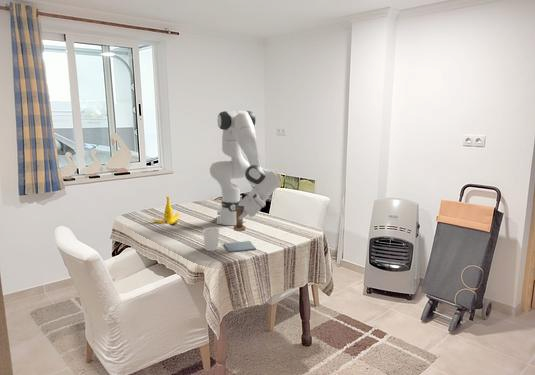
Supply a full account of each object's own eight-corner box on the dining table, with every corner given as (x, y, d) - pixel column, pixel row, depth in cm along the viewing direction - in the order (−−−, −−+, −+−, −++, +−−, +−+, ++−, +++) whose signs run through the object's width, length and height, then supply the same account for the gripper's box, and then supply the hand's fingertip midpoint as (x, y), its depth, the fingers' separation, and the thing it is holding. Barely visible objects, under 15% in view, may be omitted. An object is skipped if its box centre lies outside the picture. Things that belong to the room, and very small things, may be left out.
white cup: (207, 245, 205) (207, 227, 203) (221, 247, 203) (221, 228, 201) (201, 250, 198) (200, 231, 196) (215, 252, 195) (215, 232, 193)
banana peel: (177, 226, 240) (176, 199, 237) (150, 223, 246) (149, 197, 243) (190, 219, 255) (190, 194, 252) (165, 216, 261) (164, 192, 258)
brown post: (232, 228, 202) (232, 205, 200) (243, 227, 204) (243, 205, 202) (235, 231, 197) (235, 208, 195) (246, 230, 199) (246, 207, 197)
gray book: (223, 244, 206) (223, 243, 206) (249, 242, 210) (249, 240, 210) (228, 252, 195) (228, 251, 195) (255, 249, 199) (255, 248, 199)
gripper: (247, 189, 209) (229, 208, 208) (257, 197, 190) (238, 218, 189) (255, 197, 211) (237, 216, 210) (266, 205, 192) (247, 226, 191)
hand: (238, 217), depth 199 cm, fingers closed on brown post, 3 cm apart
